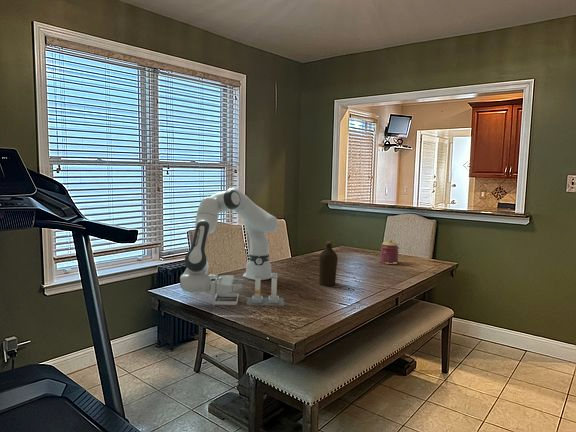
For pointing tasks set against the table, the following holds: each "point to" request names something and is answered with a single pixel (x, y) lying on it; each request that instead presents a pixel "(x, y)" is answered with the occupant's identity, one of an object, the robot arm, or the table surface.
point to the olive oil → (327, 266)
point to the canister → (389, 252)
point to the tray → (226, 301)
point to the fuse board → (264, 301)
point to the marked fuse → (257, 284)
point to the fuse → (274, 285)
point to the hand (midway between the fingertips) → (242, 283)
